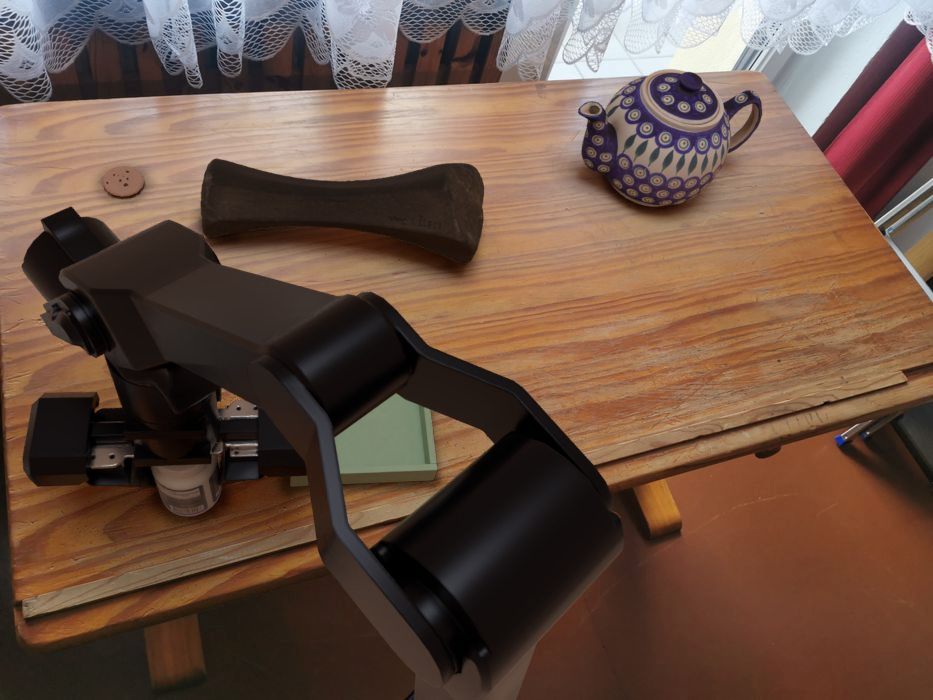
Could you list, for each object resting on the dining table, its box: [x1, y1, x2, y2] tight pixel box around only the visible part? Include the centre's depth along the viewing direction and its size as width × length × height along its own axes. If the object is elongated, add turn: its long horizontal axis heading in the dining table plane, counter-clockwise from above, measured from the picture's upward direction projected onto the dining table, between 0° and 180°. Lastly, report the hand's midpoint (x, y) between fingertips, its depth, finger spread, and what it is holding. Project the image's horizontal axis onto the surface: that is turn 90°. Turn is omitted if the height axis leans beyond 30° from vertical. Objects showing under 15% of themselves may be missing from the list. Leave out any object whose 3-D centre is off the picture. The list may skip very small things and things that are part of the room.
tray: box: [289, 394, 439, 487], centre depth 69 cm, size 12×12×2 cm
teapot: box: [577, 68, 763, 208], centre depth 89 cm, size 25×15×15 cm, turn 105°
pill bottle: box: [151, 455, 222, 517], centre depth 60 cm, size 5×5×8 cm
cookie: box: [102, 165, 145, 197], centre depth 78 cm, size 4×4×1 cm
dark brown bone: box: [199, 158, 485, 265], centre depth 78 cm, size 11×10×28 cm
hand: (189, 481), depth 62 cm, fingers closed on pill bottle, 5 cm apart
